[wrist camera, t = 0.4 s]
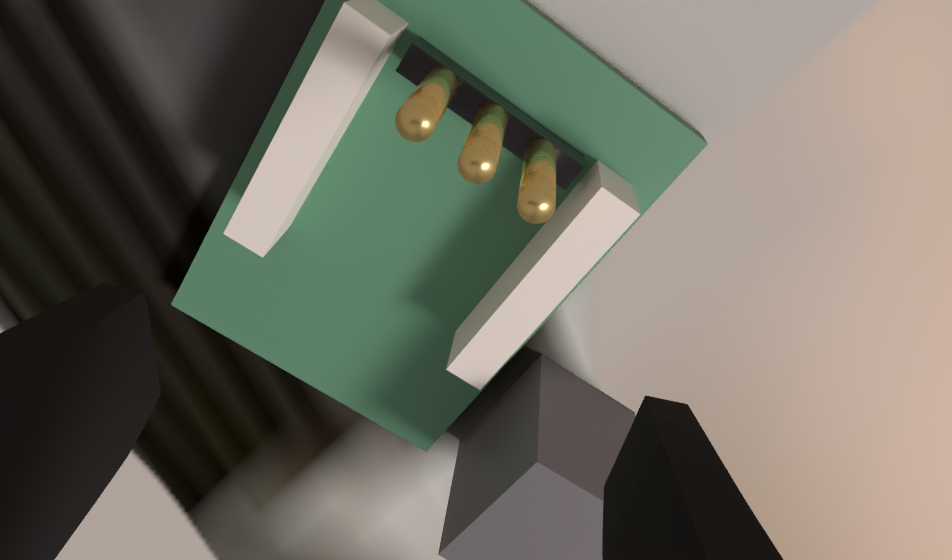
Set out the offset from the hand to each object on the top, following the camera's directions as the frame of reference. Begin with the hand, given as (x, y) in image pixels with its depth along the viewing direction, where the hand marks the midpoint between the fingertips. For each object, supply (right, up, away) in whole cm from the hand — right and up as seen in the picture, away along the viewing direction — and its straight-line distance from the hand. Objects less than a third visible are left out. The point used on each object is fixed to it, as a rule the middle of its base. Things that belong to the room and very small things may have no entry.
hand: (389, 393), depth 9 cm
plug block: (+4, -4, +14) cm, 15 cm away
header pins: (+2, +6, +8) cm, 11 cm away
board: (-1, +3, +10) cm, 11 cm away
